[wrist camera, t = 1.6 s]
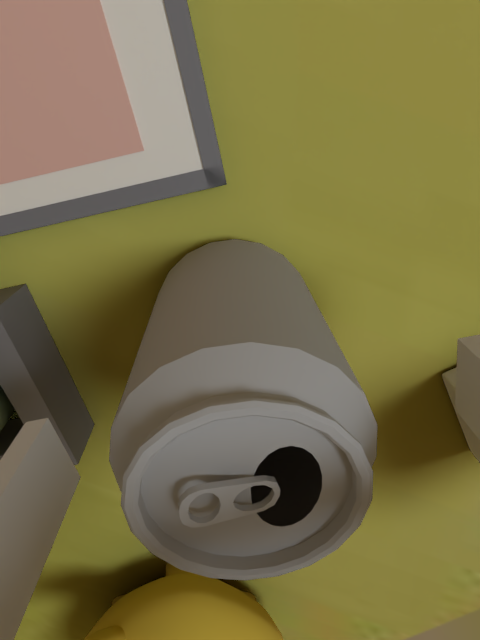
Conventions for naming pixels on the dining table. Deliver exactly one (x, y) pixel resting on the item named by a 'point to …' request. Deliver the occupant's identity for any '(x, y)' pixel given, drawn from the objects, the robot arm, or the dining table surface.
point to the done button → (5, 408)
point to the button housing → (37, 376)
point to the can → (241, 422)
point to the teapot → (185, 612)
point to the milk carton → (475, 445)
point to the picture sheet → (99, 109)
